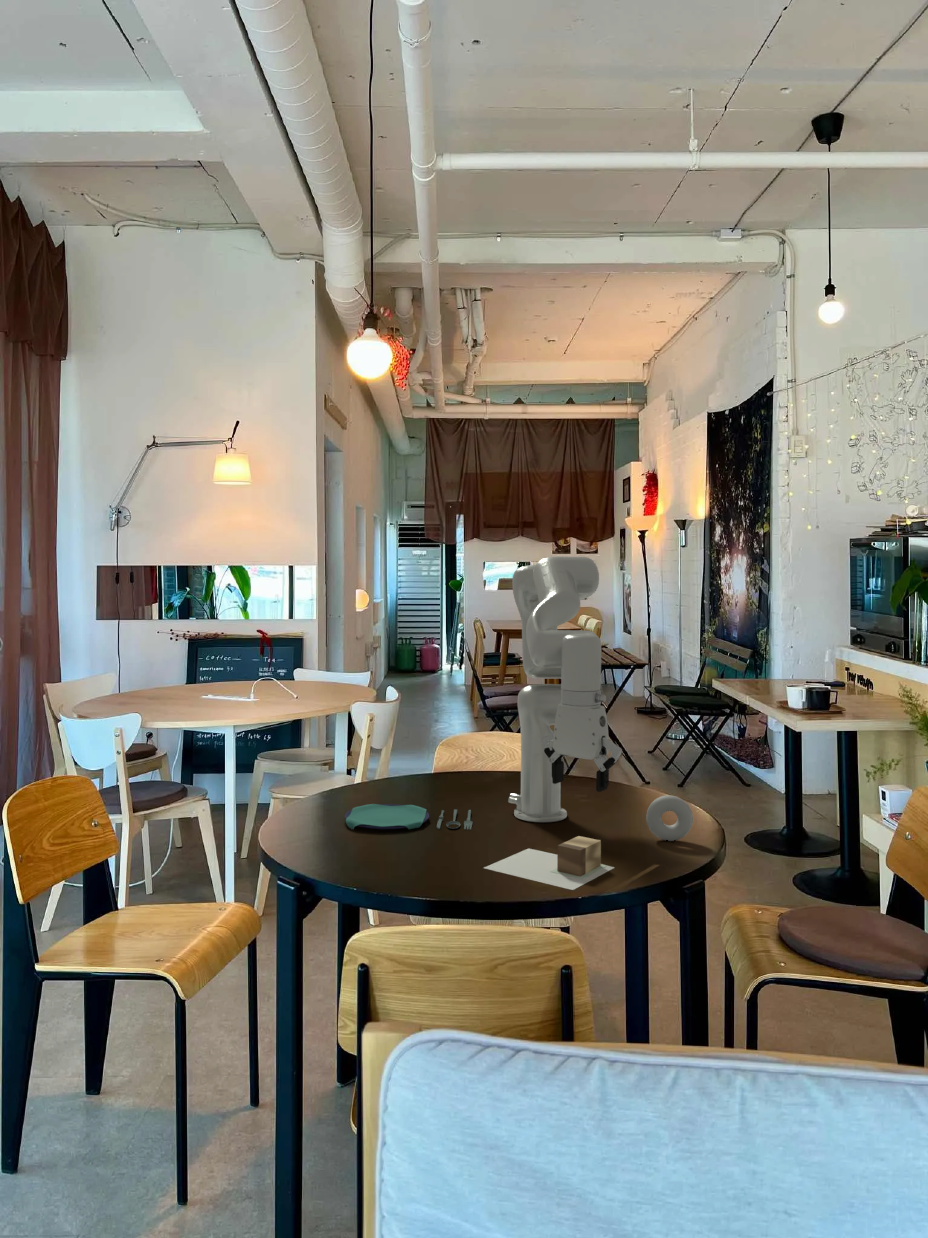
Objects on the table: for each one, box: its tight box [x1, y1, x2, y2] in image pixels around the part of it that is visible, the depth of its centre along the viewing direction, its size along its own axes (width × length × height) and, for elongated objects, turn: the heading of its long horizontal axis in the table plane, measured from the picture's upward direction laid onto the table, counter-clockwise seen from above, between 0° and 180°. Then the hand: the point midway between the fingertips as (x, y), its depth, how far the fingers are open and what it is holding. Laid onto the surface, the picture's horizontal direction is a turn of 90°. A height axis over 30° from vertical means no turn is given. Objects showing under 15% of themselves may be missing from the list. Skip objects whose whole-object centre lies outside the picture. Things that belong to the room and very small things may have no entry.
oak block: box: [556, 835, 602, 876], centre depth 171 cm, size 8×5×5 cm, turn 143°
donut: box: [645, 794, 694, 842], centre depth 191 cm, size 10×4×10 cm, turn 80°
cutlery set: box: [344, 803, 473, 831], centre depth 206 cm, size 20×30×2 cm, turn 88°
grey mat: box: [483, 847, 615, 891], centre depth 171 cm, size 20×16×1 cm
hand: (579, 786), depth 170 cm, fingers open, 9 cm apart
